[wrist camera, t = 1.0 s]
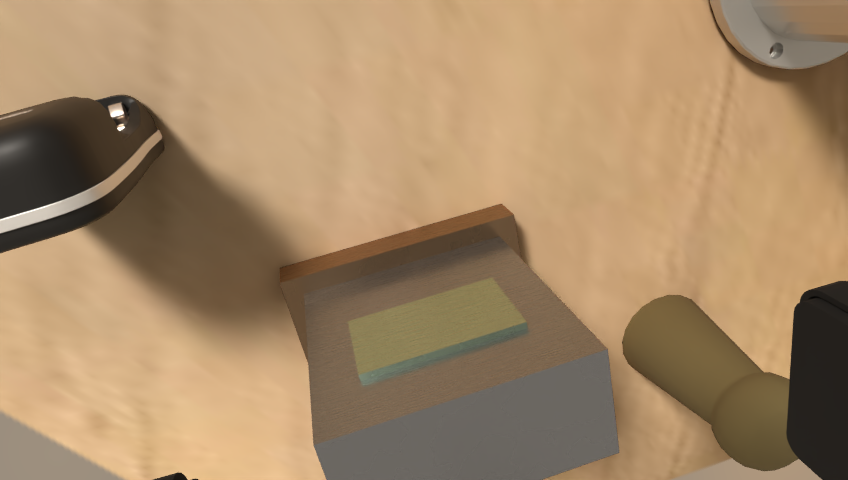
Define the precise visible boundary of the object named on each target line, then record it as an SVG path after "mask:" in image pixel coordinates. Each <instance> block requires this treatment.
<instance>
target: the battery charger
mask: <svg viewBox="0 0 848 480" xmlns="http://www.w3.org/2000/svg"><path fill="white" fill-rule="evenodd" d="M161 139H162V135H161V133H160V130H157V128H156V126H155V124H154V121H153V119H152V117H151V116H150V114H149V113H148V111H147V110H146V108H145V107H144V106H143V105H142V104H141V103H140V102H139V101H138V100H136V99H135V98H133V97H131V96H127V95H116V96H110V97H107V98H103V99H99V100H95V101H94V100H92V99H89V98H79V97H68V98H63V99H58V100H53V101H50V102H46V103H43V104H39V105H35V106H32V107H28V108H24V109H21V110H17V111H14V112H10V113H7V114H3V115H0V253H3V252H6V251H9V250H12V249H16V248H19V247H22V246H26V245H29V244H32V243H36V242H39V241H42V240H45V239H49V238H52V237H55V236H58V235H61V234H65V233H68V232H71V231H73V230H76V229H78V228H81V227H84V226H86V225H88V224H90V223H92V222H94V221H96V220H98V219H100V218H102V217H103V216H105V215H107V214H108V213H109V212H110V211H112V210H113V209H114V208H115V207H116V206H117V205H118V204H119V203H120V202H121V201H122V200H123V199H124V198H125V196H126V195H127V194H128V193H129V192H130V191H131V190H132V189H133V187H134V186H135V185H136V184H137V183H138V181H139V180H140V179H141V177H142V176H143V175H144V173H145V172H146V171H147V169H148V168H149V166H150V165H151V164H152V162H153V161H154V160H155V159H156V158H157V157H158V156H159V155H160V154H161V153H162V152H163V151H164V145H163V142H162V140H161Z"/></svg>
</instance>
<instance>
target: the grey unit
mask: <svg viewBox="0 0 848 480" xmlns="http://www.w3.org/2000/svg"><path fill="white" fill-rule="evenodd" d="M280 286H281V289H282V291H283V294H284V297H285V300H286V303H287V305H288V308H289V311H290V314H291V317H292V319H293V322H294V325H295V328H296V331H297V333H298V336H299V339H300V342H301V345H302V347H303V350H304V353H305V356H306V359H307V361H308V365H309V381H310V396H311V412H312V428H313V443H314V448H315V450H316V453H317V455H318V458H319V461H320V463H321V466H322V469H323V471H324V474H325V477H326V479H327V480H542V479H545V478H548V477H551V476H554V475H557V474H559V473H562V472H565V471H568V470H571V469H574V468H577V467H579V466H582V465H585V464H588V463H591V462H594V461H597V460H599V459H602V458H605V457H608V456H611V455H614V454H617V453H619V446H618V437H617V428H616V419H615V410H614V401H613V392H612V384H611V375H610V366H609V357H608V349H607V348H606V347H605V346H604V345H603V344H602V343H601V342H600V341H599V340H598V339H597V338H596V337H595V335H594V334H593V333H592V332H591V331H590V330H589V329H588V328H587V327H586V326H585V325H584V324H583V323H582V322H581V321H580V320H579V319H578V318H577V317H576V316H575V315H574V314H573V312H572V311H571V310H570V309H569V308H568V307H567V306H566V305H565V304H564V303H563V302H562V301H561V300H560V299H559V298H558V297H557V296H556V295H555V294H554V293H553V292H552V291H551V289H550V288H549V287H548V286H547V285H546V284H545V283H544V282H543V281H542V280H541V279H540V278H539V277H538V276H537V275H536V274H535V273H534V272H533V271H532V270H531V269H530V268H529V266H528V265H527V264H526V263H525V262H524V261H523V260H522V259H521V254H520V248H519V242H518V236H517V231H516V225H515V219H514V214H513V213H511V212H510V211H509V210H508V209H507V208H506V207H505V206H503V205H502V204H499V205H496V206H492V207H489V208H486V209H482V210H479V211H475V212H472V213H468V214H465V215H461V216H458V217H454V218H451V219H448V220H444V221H441V222H437V223H434V224H430V225H427V226H423V227H420V228H416V229H413V230H410V231H406V232H403V233H399V234H396V235H392V236H389V237H385V238H382V239H378V240H375V241H372V242H368V243H365V244H361V245H358V246H354V247H351V248H347V249H344V250H340V251H337V252H334V253H330V254H327V255H323V256H320V257H316V258H313V259H309V260H306V261H302V262H299V263H296V264H292V265H289V266H285V267H282V268H280Z"/></svg>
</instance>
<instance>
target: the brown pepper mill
mask: <svg viewBox="0 0 848 480" xmlns="http://www.w3.org/2000/svg"><path fill="white" fill-rule="evenodd" d="M622 344H623V354H624V356H625V358H626V360H627V362H628V364H629V365H631V366H632V367H633V368H634V369H636V370H637V371H638V372H640V373H641V374H642V375H644V376H645V377H646V378H648V379H649V380H651V381H652V382H653V383H655V384H656V385H657V386H659V387H660V388H662V389H663V390H664V391H666V392H667V393H668V394H670V395H671V396H673V397H674V398H675V399H677V400H678V401H679V402H681V403H682V404H683V405H685V406H686V407H688V408H689V409H690V410H692V411H693V412H694V413H696V414H697V415H699V416H700V417H701V418H703V419H704V420H705V421H707V422H708V423H710V424H711V425H712V431H713V433H714V435H715V438H716V439H717V441H718V443H719V445H720V446H721V448H722V449H723V450H724V451H725V452H726V453H727V454H728V455H729V456H730V457H732V458H733V459H734V460H735V461H737V462H738V463H740V464H742V465H743V466H745V467H749V468H753V469H757V470H761V471H772V470H777V469H780V468H782V467H785V466H787V465H789V464H791V463H792V462H794V461H795V460H797V459H799V458H798V457H797V456H796V455H795V454H794V452H793V451H792V449H791V447H790V445H789V443H788V440H787V435H786V430H787V414H788V398H789V382H790V380H789V379H787V378H784V377H782V376H779V375H776V374H773V373H770V372H768V373H764V372H763V371H762V370H761V369H760V368H759V367H758V366H757V365H756V364H755V363H754V362H753V361H752V360H751V359H750V358H749V357H748V356H747V355H746V354H745V353H744V352H743V351H742V350H741V349H740V348H739V347H738V346H737V345H736V344H735V343H734V342H733V341H732V340H731V339H730V338H729V337H728V336H727V335H726V334H725V333H724V332H723V331H722V330H721V329H720V328H719V327H718V326H717V325H716V324H715V323H714V322H713V321H712V320H711V319H710V318H709V317H708V316H707V315H706V314H705V313H704V312H703V311H702V310H701V309H700V308H699V307H698V306H697V305H696V304H695V303H694V302H693V301H692V300H691V299H689V298H686V297H683V296H681V295H667V296H664V297H661V298H658V299H654V300H653V301H651V302H650V303H648V304H646V305H645V306H643V307H642V308H641V309H640V310H639V311H638V312H637V313H636V314H635V315H634V316H633V317H632V319H631V321H630V323H629V324H628V326H627V328H626V330H625V333H624V338H623V342H622Z"/></svg>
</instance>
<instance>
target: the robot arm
mask: <svg viewBox="0 0 848 480" xmlns="http://www.w3.org/2000/svg"><path fill="white" fill-rule="evenodd" d="M710 4H711V7H712V10H713V13H714V15H715V18H716V21H717V24H718V25H719V27H720V29H721V30H722V32H723V34H724V35H725V37H726V39H727V40H728V41H729V42H730V43H731V44H732V45H733V46H734V48H735V49H736V50H737V51H738V52H739V53H741V54H742V55H744V56H745V57H747V58H749V59H750V60H752V61H753V62H756V63H759V64H762V65H765V66H768V67H774V68H783V69H805V68H811V67H815V66H818V65H822V64H825V63H828V62H830V61H832V60H834V59H836V58H838V57H840V56H842V55H844V54H845V53H847V52H848V0H710ZM786 435H787V440H788V443H789V445H790V447H791V449H792V451H793V452H794V454H795V455H796V456H797V457H798V458H799V459H800V460H801V461H802V462H803V463H804V464H805V465H807V466H808V467H809V468H810V469H811V470H812V471H813V472H814V473H815V474H817V475H818V476H819V477H820V478H821V479H822V480H848V281H838V282H835V283H831V284H828V285H824V286H821V287H817V288H814V289H811V290H808V291H806V292H804V294H803V295H802V296H801V299H800V303H798V304H797V305H796V307H795V310H794V320H793V335H792V351H791V367H790V382H789V398H788V414H787V430H786ZM154 480H187V478H186V477H185V476H184V475H183V474H182V473H175V474H171V475H168V476H164V477H161V478H157V479H154ZM192 480H198V479H192Z"/></svg>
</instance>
